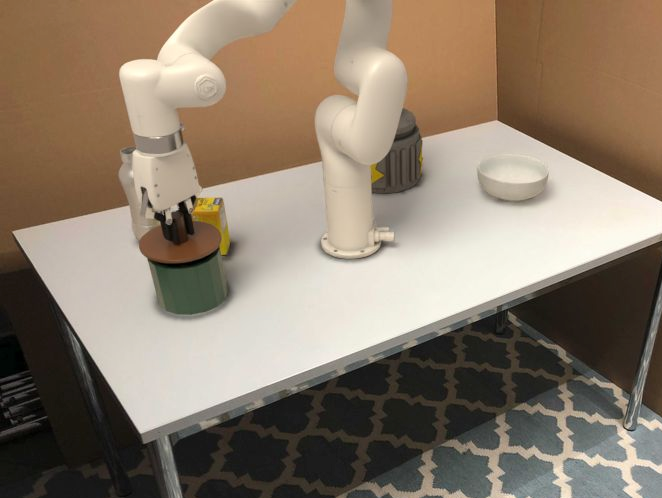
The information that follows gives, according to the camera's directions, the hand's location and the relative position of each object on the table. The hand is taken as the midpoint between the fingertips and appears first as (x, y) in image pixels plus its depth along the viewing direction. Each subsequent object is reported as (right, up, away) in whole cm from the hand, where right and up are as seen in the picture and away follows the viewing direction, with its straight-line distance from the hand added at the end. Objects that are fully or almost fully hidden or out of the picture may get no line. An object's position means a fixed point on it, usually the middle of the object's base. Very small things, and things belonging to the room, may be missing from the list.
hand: (179, 235), depth 138 cm
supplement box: (-1, 0, +22) cm, 22 cm away
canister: (0, -11, +9) cm, 14 cm away
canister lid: (0, -1, +1) cm, 1 cm away
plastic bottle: (-15, +3, +24) cm, 29 cm away
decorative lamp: (+31, +22, +51) cm, 64 cm away
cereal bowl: (+62, +17, +47) cm, 80 cm away
